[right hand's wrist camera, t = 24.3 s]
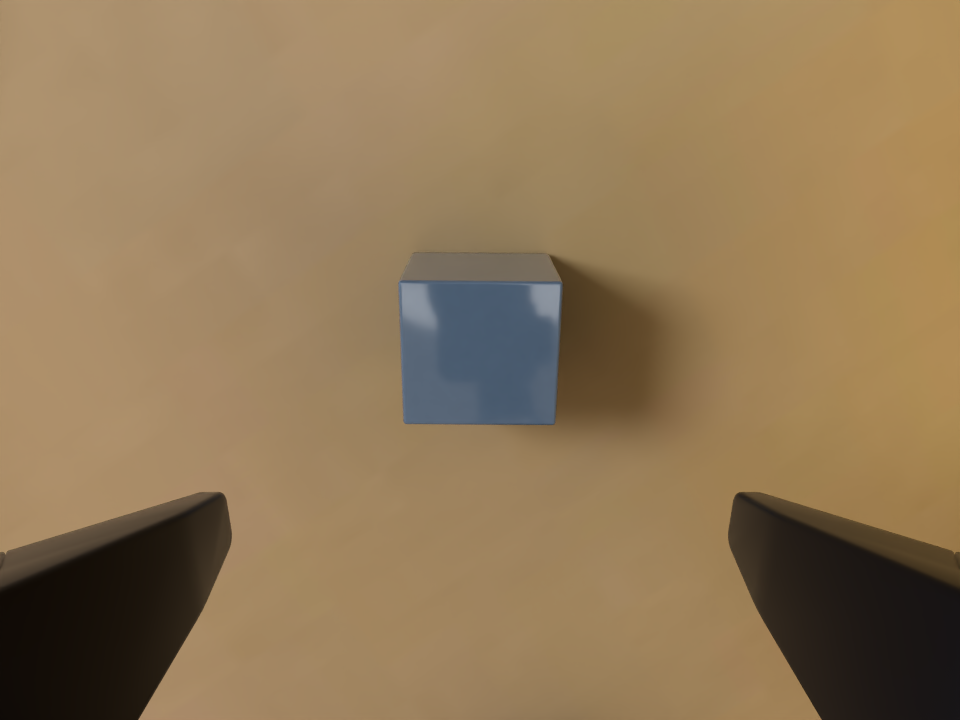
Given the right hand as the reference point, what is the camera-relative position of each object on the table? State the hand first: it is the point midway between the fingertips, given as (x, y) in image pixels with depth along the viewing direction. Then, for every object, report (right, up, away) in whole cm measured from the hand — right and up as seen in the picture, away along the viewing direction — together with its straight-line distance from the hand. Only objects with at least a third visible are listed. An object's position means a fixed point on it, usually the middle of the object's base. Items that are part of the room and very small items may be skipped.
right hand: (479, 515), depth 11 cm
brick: (0, +4, +11) cm, 12 cm away
